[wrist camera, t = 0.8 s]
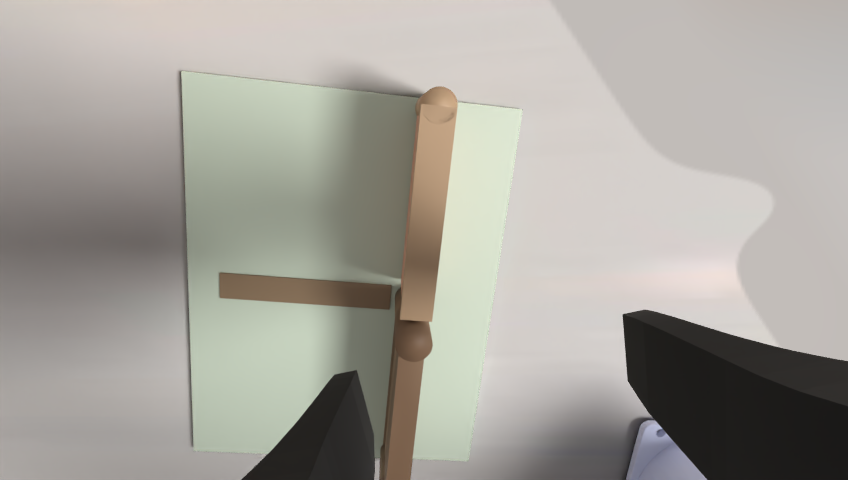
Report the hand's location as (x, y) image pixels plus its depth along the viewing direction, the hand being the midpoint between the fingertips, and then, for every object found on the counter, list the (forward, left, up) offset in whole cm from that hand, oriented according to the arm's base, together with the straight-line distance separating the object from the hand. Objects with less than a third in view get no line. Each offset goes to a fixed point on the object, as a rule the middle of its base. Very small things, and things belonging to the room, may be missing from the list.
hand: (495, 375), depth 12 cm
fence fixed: (+2, +6, -9) cm, 11 cm away
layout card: (+5, +2, -10) cm, 11 cm away
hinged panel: (+2, -3, -9) cm, 10 cm away
